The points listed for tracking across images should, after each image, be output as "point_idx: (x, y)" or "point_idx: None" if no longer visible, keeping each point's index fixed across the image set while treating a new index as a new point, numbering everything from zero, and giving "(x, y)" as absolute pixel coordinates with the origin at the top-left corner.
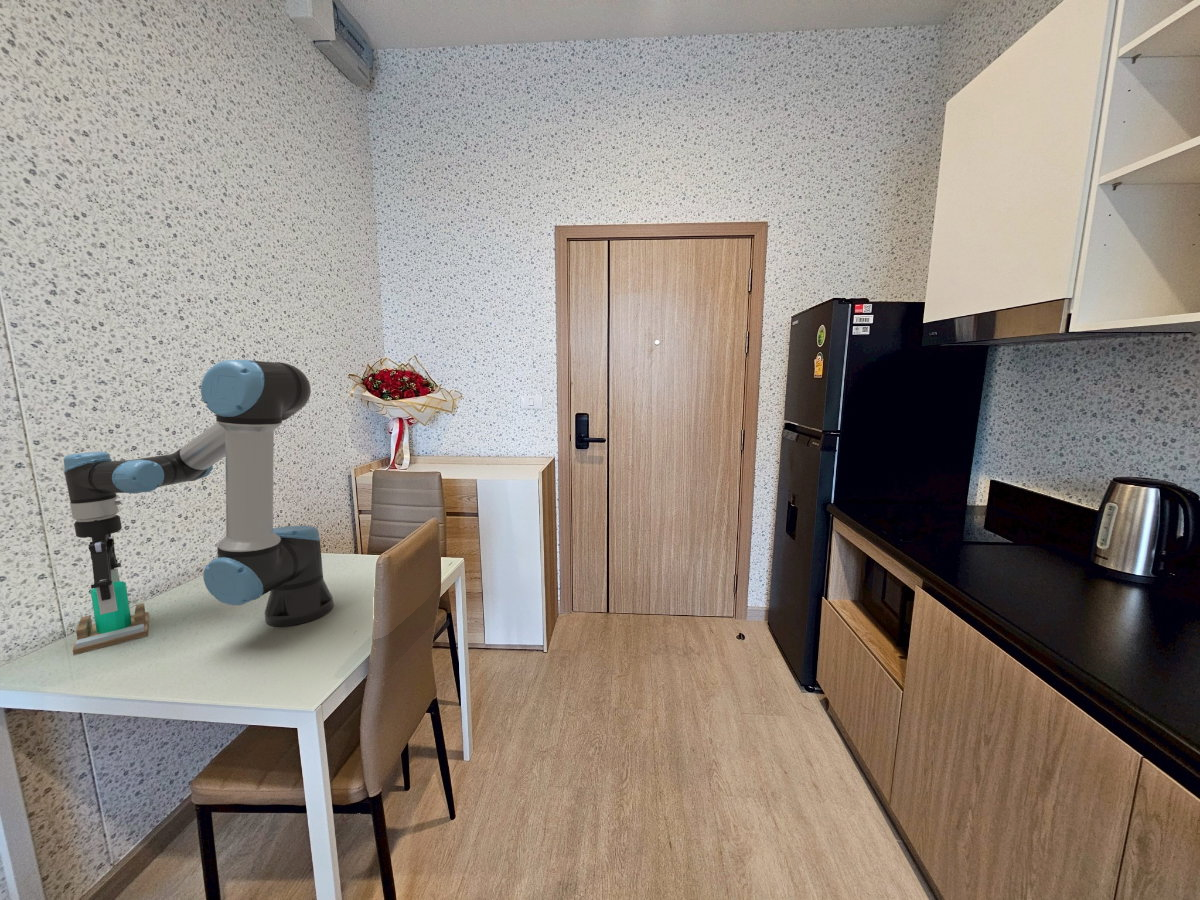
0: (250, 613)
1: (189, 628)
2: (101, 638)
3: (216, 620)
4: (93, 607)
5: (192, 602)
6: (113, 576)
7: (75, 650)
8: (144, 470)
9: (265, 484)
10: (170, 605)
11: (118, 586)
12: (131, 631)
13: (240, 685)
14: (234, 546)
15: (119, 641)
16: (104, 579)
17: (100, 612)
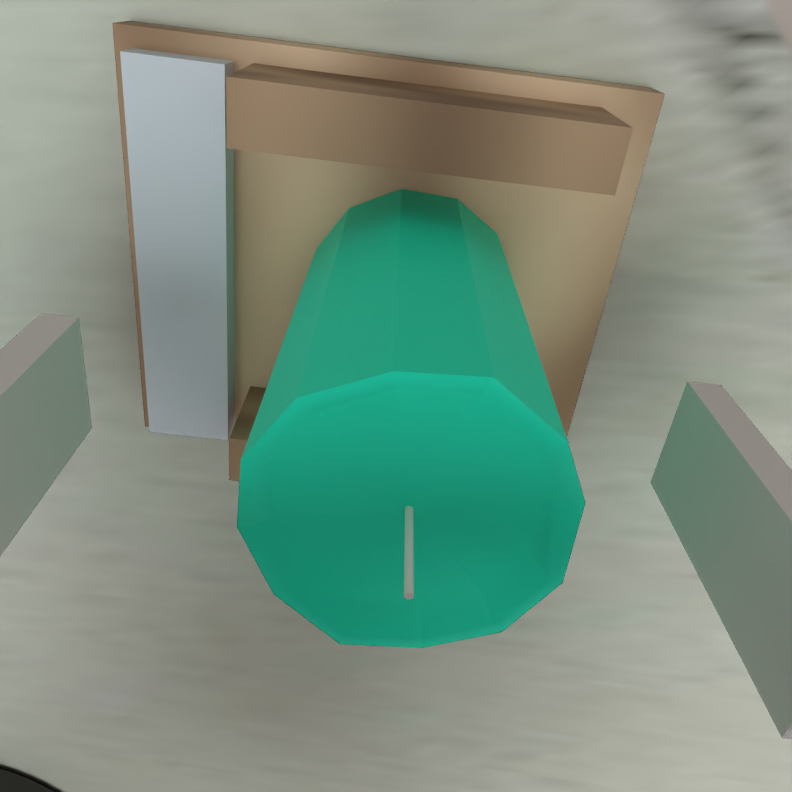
0: (118, 741)
1: (112, 560)
2: (137, 214)
3: (136, 649)
4: (386, 273)
5: (567, 625)
6: (750, 612)
7: (118, 40)
8: None
9: None
10: (640, 549)
11: (386, 576)
12: (146, 370)
13: None
14: None
15: None
16: (781, 526)
17: (31, 324)
